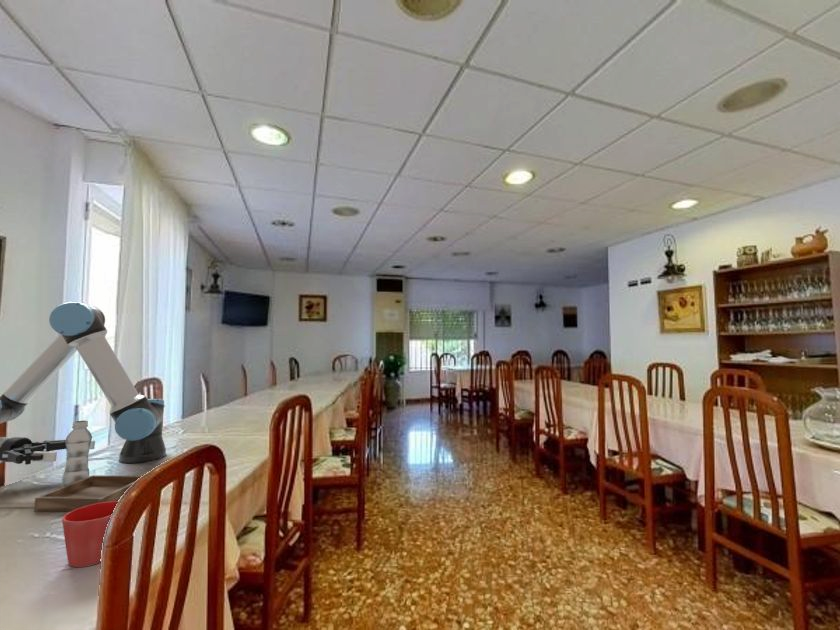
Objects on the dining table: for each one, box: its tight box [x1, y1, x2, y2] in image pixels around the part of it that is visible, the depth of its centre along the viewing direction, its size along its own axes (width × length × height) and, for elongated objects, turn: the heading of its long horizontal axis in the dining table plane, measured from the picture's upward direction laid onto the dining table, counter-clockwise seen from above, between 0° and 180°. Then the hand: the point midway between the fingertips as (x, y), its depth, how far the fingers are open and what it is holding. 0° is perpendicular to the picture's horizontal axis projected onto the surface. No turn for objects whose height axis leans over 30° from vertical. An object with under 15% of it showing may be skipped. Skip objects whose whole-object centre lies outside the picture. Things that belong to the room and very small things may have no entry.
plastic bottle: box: [61, 420, 93, 487], centre depth 122 cm, size 6×7×20 cm
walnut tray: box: [33, 474, 142, 513], centre depth 111 cm, size 18×18×4 cm
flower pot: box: [61, 501, 118, 568], centre depth 81 cm, size 11×11×10 cm
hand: (75, 450), depth 122 cm, fingers open, 13 cm apart
